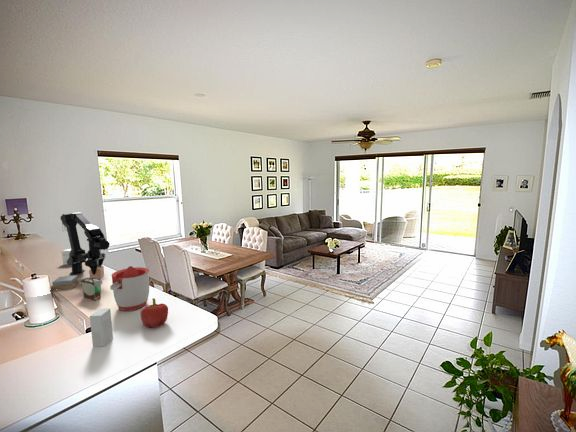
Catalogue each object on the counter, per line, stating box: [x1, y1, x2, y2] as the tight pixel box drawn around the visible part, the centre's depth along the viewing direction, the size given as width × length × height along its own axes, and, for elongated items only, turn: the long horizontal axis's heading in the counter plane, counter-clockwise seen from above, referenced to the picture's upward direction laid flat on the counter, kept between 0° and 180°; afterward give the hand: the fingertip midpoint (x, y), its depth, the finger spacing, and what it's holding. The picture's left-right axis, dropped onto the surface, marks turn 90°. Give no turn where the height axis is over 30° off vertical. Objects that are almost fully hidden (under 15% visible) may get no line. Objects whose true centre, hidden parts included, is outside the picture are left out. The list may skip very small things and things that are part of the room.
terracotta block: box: [88, 265, 105, 279], centre depth 174 cm, size 6×6×6 cm
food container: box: [80, 276, 103, 302], centre depth 143 cm, size 12×6×10 cm, turn 65°
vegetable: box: [140, 297, 169, 328], centre depth 116 cm, size 11×10×10 cm
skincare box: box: [89, 308, 114, 347], centre depth 103 cm, size 6×4×12 cm
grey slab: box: [51, 274, 79, 286], centre depth 159 cm, size 9×9×2 cm
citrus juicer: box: [110, 265, 150, 312], centre depth 132 cm, size 16×17×20 cm
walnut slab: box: [50, 278, 82, 291], centre depth 159 cm, size 11×11×2 cm
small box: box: [61, 248, 71, 266], centre depth 201 cm, size 8×6×10 cm
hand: (96, 272), depth 174 cm, fingers open, 9 cm apart
